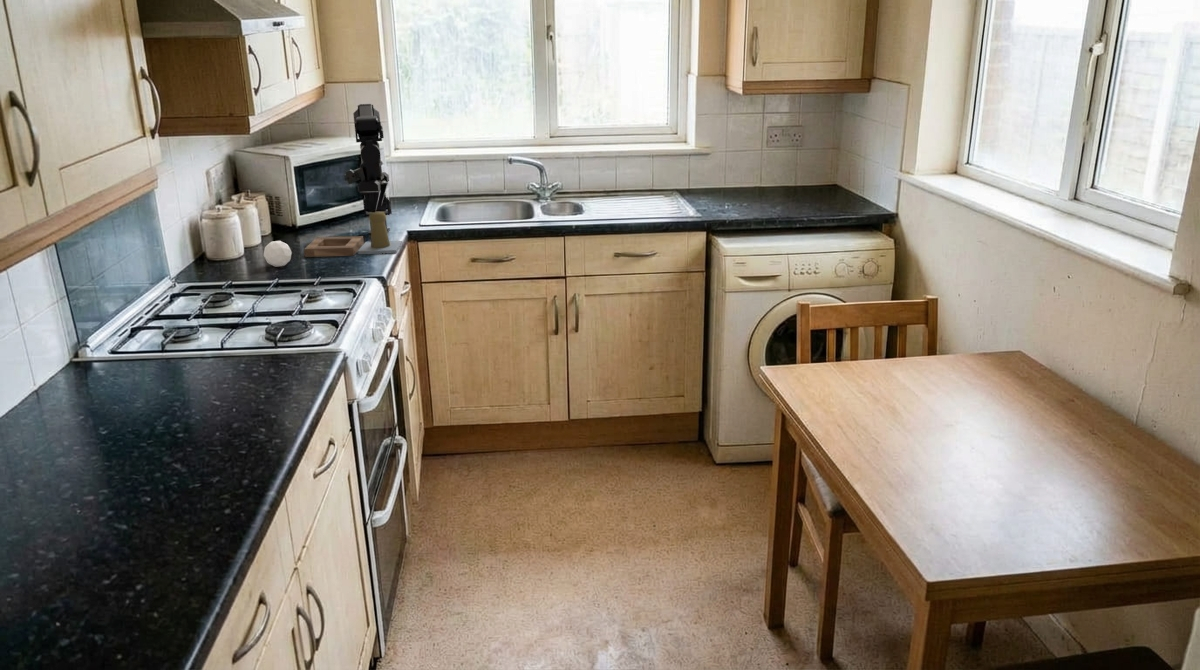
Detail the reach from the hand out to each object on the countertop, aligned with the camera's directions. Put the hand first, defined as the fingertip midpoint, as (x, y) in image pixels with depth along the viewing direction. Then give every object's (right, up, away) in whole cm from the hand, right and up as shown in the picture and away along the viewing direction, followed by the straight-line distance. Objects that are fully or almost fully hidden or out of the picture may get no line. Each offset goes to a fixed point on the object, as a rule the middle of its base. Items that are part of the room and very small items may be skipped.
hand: (376, 209), depth 269 cm
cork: (0, -11, +4) cm, 12 cm away
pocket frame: (-14, -13, +4) cm, 19 cm away
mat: (0, -12, +5) cm, 13 cm away
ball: (-26, -19, -12) cm, 34 cm away
